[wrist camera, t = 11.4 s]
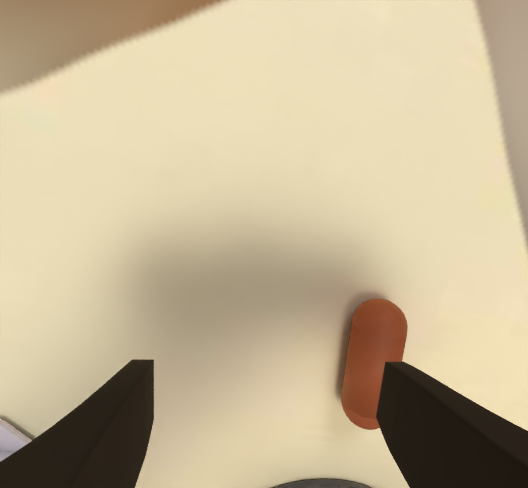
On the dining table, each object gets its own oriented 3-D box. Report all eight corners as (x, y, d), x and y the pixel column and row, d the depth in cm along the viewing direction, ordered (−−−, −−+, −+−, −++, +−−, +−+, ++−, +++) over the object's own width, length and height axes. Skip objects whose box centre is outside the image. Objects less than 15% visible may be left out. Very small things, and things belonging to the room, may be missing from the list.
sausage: (369, 402, 22) (400, 436, 20) (329, 409, 21) (356, 446, 19) (387, 289, 21) (424, 310, 18) (345, 292, 20) (377, 314, 17)
